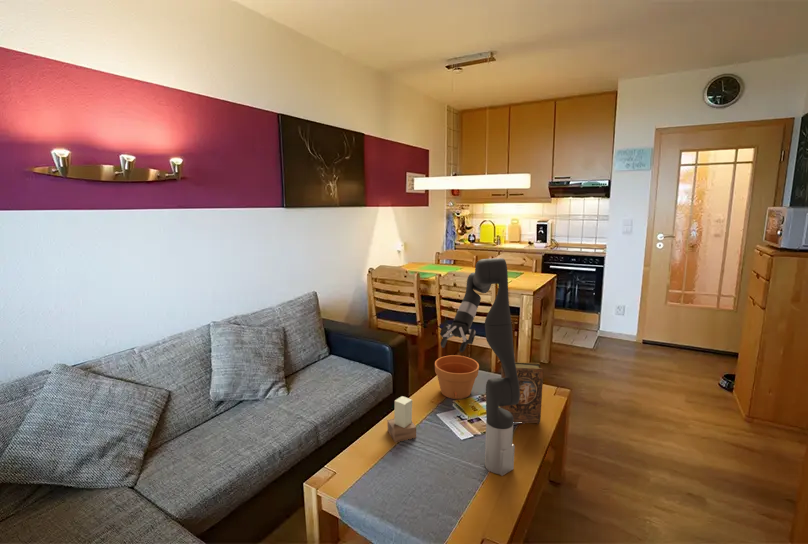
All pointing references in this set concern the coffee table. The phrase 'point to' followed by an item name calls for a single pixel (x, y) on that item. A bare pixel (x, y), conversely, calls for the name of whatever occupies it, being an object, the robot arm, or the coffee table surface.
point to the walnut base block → (401, 431)
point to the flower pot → (456, 375)
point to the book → (527, 393)
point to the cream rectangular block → (403, 412)
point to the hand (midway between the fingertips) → (451, 349)
